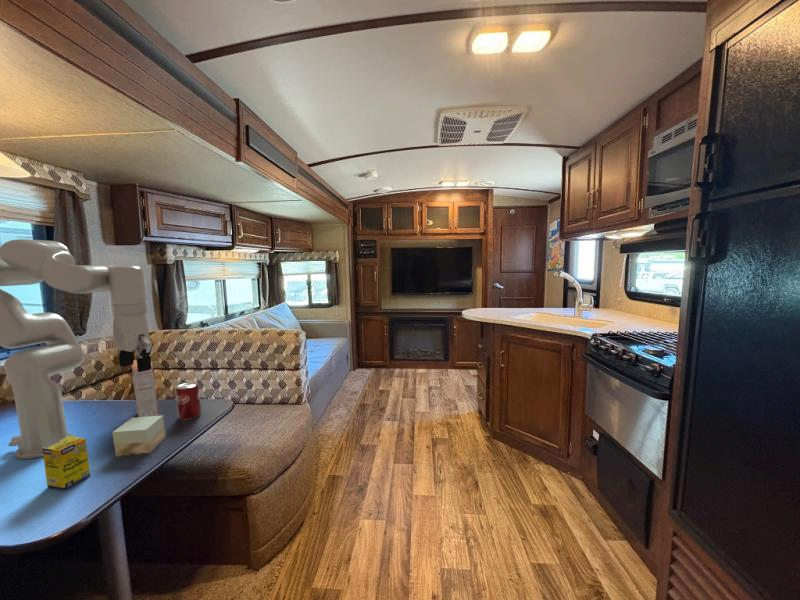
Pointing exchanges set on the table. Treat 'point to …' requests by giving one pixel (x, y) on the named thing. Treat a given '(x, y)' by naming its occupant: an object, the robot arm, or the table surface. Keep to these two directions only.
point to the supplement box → (66, 462)
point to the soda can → (188, 400)
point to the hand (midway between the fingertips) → (135, 368)
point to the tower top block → (138, 430)
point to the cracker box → (145, 391)
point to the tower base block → (140, 445)
